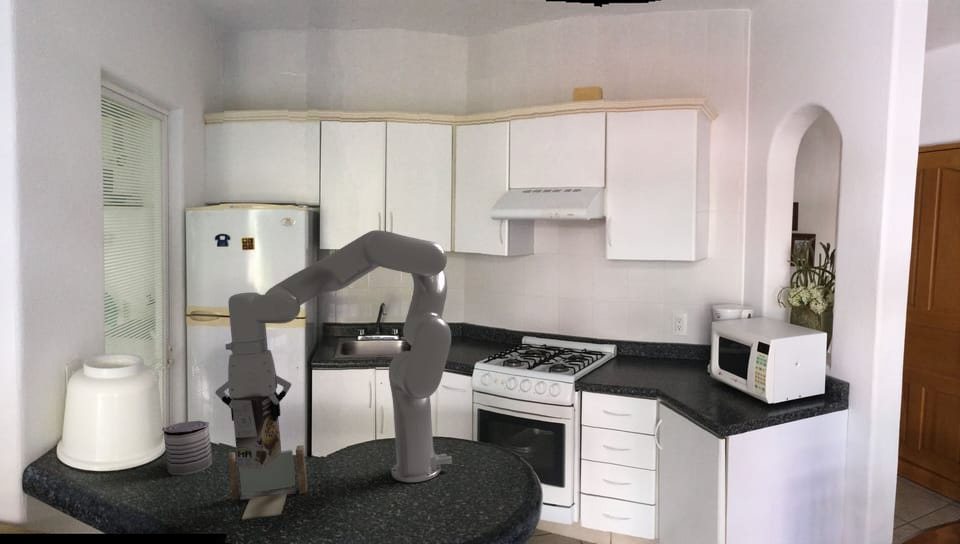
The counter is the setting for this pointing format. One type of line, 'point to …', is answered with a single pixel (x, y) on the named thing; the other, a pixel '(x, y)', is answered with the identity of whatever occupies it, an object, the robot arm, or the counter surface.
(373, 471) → the counter surface
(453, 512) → the counter surface
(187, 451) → the can
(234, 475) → the frame
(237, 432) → the coffee box
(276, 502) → the board
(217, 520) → the counter surface
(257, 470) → the door
